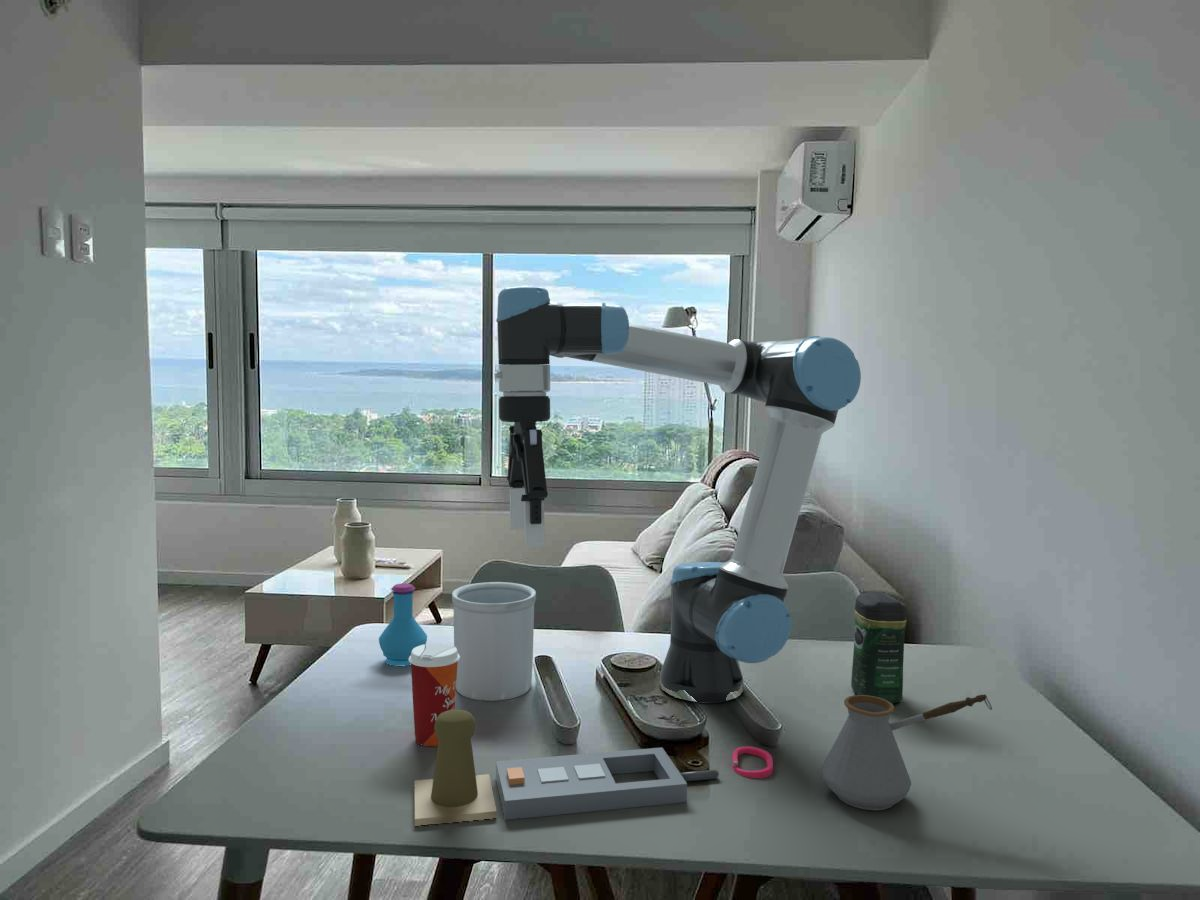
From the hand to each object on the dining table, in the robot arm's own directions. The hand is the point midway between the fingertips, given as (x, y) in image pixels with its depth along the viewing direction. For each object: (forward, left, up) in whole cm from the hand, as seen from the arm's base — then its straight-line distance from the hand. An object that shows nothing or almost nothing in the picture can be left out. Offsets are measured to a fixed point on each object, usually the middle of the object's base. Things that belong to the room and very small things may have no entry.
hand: (526, 537), depth 122 cm
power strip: (-10, +16, -32) cm, 37 cm away
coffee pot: (-48, +26, -32) cm, 63 cm away
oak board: (+11, +16, -32) cm, 37 cm away
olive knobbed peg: (+11, +16, -31) cm, 37 cm away
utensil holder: (+2, -24, -32) cm, 40 cm away
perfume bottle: (+18, -41, -32) cm, 55 cm away
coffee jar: (-65, -8, -32) cm, 73 cm away
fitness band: (-32, +13, -32) cm, 47 cm away
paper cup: (+13, -4, -32) cm, 35 cm away
